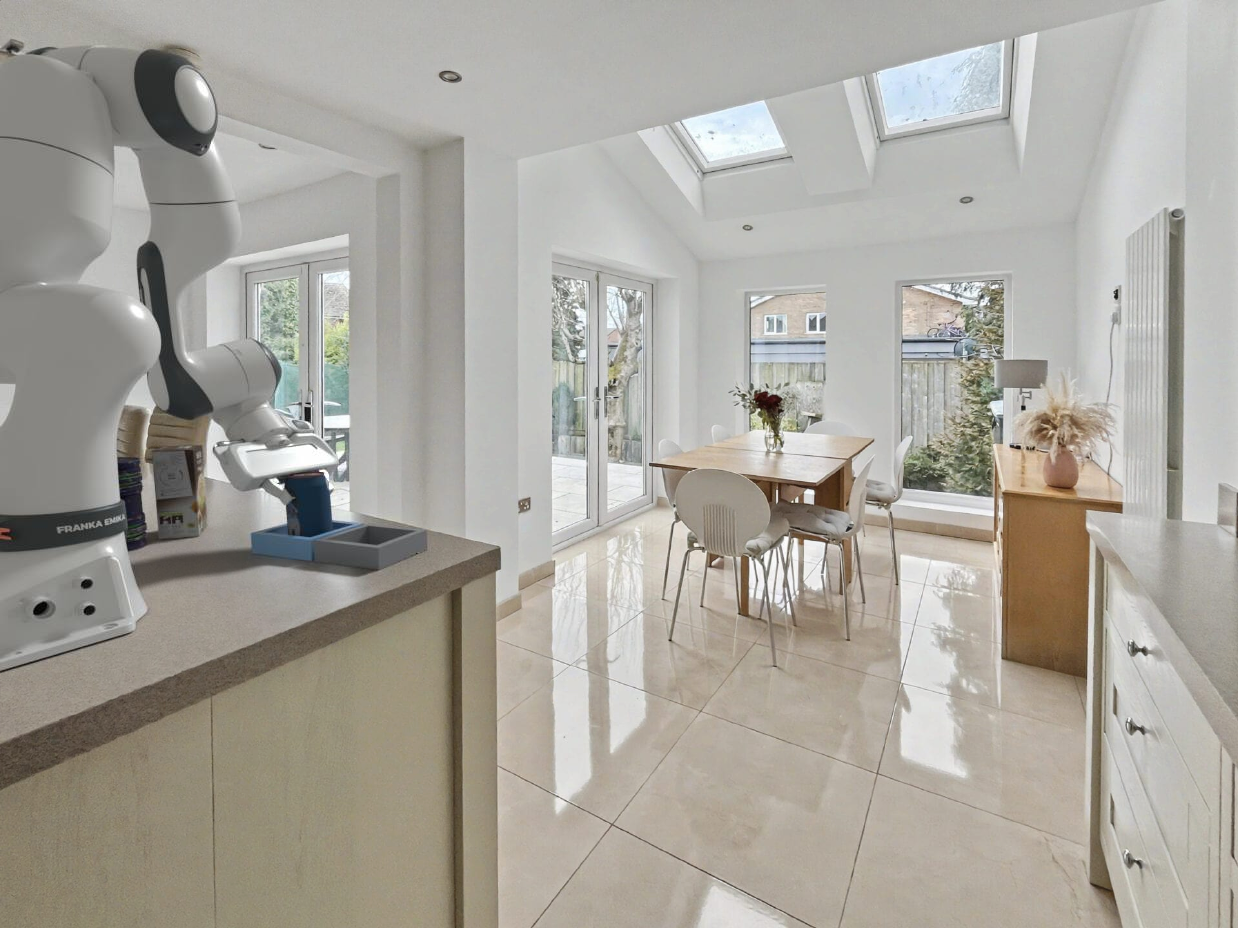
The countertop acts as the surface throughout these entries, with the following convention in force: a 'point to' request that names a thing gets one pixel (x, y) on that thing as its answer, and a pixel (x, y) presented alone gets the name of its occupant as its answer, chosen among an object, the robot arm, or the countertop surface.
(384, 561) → the frame
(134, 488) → the storage jar
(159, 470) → the coffee box
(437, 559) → the countertop surface
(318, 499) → the soda can
